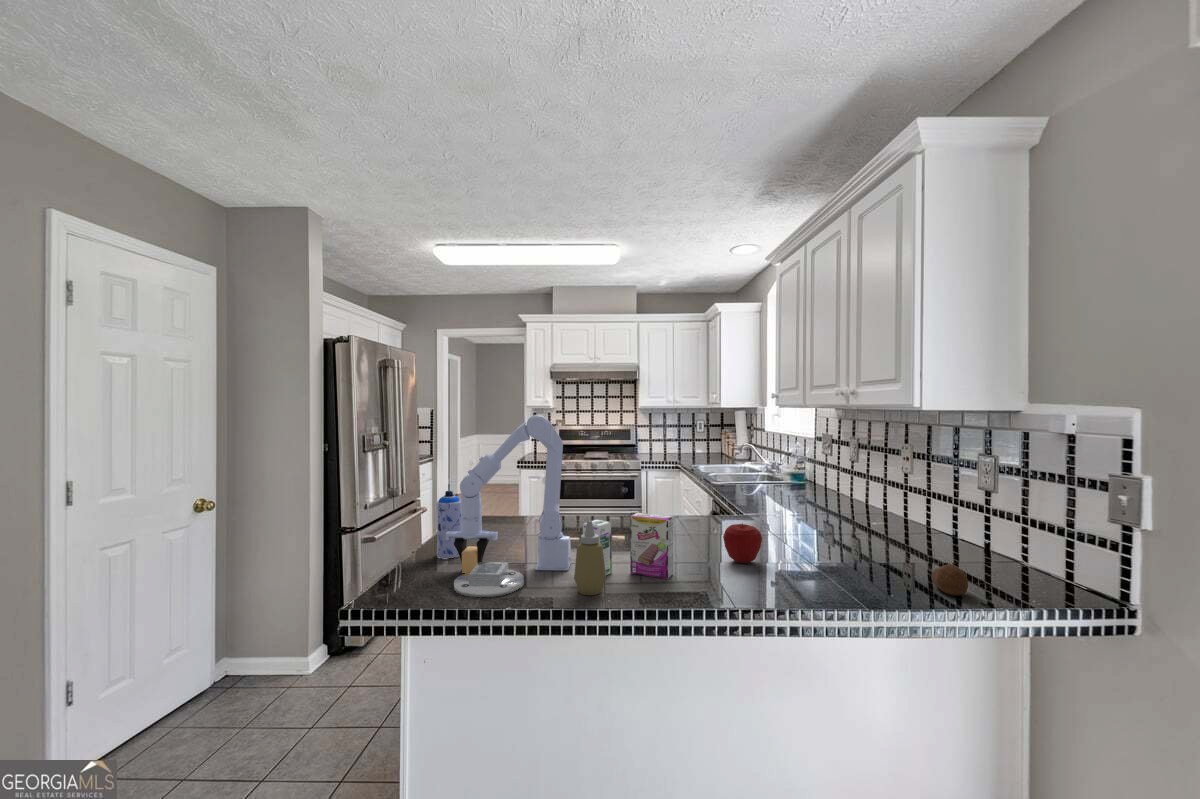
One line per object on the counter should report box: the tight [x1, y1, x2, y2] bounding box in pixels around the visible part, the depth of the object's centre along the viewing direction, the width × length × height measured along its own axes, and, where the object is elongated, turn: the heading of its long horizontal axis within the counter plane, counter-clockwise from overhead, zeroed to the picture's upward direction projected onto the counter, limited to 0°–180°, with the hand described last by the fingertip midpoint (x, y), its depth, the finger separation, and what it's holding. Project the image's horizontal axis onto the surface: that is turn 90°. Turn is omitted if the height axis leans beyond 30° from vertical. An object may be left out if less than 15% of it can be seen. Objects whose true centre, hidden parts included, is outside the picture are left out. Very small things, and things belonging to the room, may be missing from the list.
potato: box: [931, 564, 969, 597], centre depth 143 cm, size 7×10×7 cm
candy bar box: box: [629, 512, 674, 580], centre depth 158 cm, size 11×5×16 cm, turn 65°
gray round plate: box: [453, 561, 525, 598], centre depth 151 cm, size 18×18×4 cm
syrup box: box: [582, 519, 613, 576], centre depth 159 cm, size 6×6×14 cm
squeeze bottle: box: [573, 520, 607, 596], centre depth 145 cm, size 8×8×18 cm
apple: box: [722, 522, 763, 564], centre depth 169 cm, size 11×11×12 cm
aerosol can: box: [436, 490, 462, 559], centre depth 178 cm, size 8×8×20 cm
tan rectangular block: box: [461, 545, 478, 574], centre depth 163 cm, size 4×6×6 cm, turn 177°
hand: (472, 564), depth 163 cm, fingers closed on tan rectangular block, 4 cm apart
